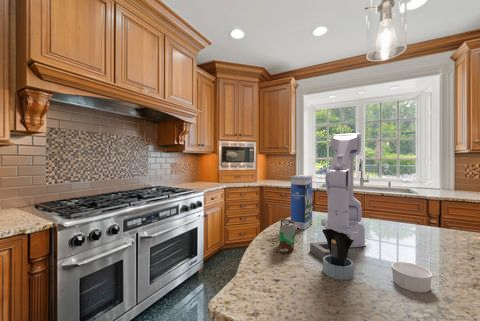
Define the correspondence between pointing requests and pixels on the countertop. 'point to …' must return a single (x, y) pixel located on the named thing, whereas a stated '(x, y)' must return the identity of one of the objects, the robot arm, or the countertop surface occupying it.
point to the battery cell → (335, 254)
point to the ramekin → (411, 276)
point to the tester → (320, 249)
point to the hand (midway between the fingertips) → (337, 256)
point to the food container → (287, 236)
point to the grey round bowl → (338, 269)
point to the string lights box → (301, 200)
